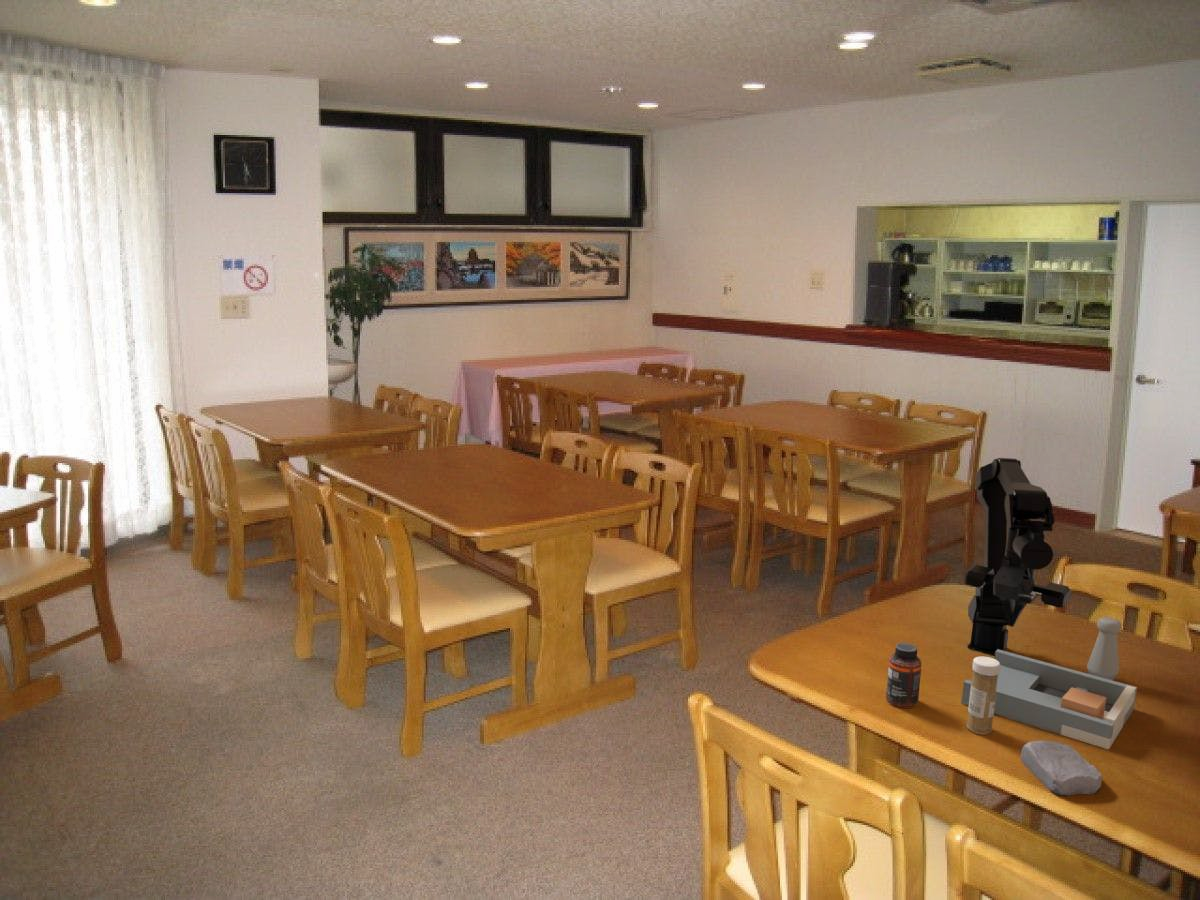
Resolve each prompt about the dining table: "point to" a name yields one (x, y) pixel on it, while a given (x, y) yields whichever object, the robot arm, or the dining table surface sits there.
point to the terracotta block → (1084, 702)
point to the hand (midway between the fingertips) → (1011, 625)
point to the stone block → (1060, 768)
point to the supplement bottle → (904, 676)
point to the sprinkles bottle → (982, 695)
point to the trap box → (1057, 699)
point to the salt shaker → (1105, 650)
